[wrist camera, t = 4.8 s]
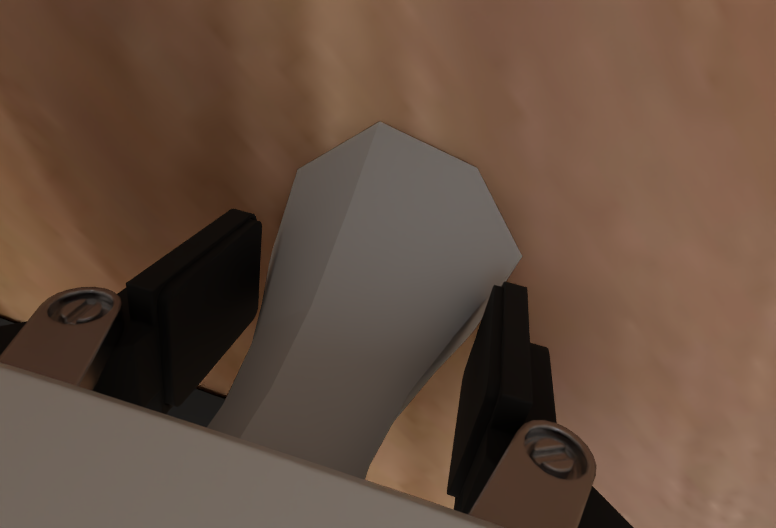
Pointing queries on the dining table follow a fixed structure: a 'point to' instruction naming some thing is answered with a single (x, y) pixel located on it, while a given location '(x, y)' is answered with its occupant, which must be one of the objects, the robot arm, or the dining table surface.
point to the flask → (365, 296)
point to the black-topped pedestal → (189, 404)
